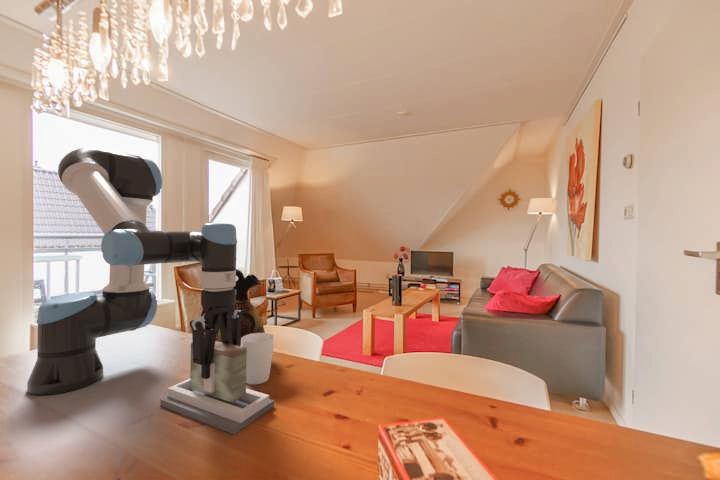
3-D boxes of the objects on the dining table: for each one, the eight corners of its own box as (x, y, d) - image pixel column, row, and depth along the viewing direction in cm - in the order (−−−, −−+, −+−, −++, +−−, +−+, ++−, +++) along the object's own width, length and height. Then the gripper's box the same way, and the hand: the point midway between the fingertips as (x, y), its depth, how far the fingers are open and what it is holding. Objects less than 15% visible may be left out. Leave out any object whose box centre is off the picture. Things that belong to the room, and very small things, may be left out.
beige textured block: (190, 388, 76) (190, 343, 76) (204, 382, 80) (205, 338, 80) (232, 402, 70) (232, 353, 70) (245, 394, 74) (246, 347, 74)
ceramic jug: (270, 354, 109) (271, 267, 109) (257, 373, 94) (258, 272, 93) (220, 354, 108) (221, 266, 108) (198, 373, 93) (200, 271, 93)
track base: (160, 405, 75) (160, 391, 75) (204, 384, 86) (204, 372, 86) (233, 434, 65) (234, 417, 65) (273, 406, 75) (274, 392, 75)
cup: (263, 388, 84) (264, 343, 84) (233, 385, 86) (233, 341, 86) (278, 374, 93) (279, 333, 93) (250, 371, 95) (251, 331, 95)
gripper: (197, 295, 66) (195, 407, 66) (257, 285, 81) (255, 376, 81) (174, 292, 69) (172, 399, 69) (235, 282, 84) (234, 370, 85)
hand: (217, 386), depth 75 cm, fingers closed on beige textured block, 4 cm apart
